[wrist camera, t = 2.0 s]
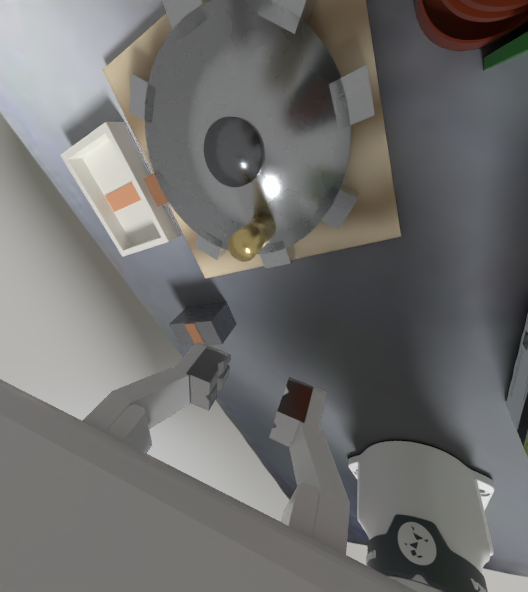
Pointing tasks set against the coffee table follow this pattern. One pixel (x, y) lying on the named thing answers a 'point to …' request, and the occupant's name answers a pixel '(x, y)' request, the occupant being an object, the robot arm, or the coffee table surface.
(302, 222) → the sprocket
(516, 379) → the tea box
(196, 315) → the gray banded block
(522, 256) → the coffee table surface
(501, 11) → the motor
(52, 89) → the coffee table surface
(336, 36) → the sprocket base
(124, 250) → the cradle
